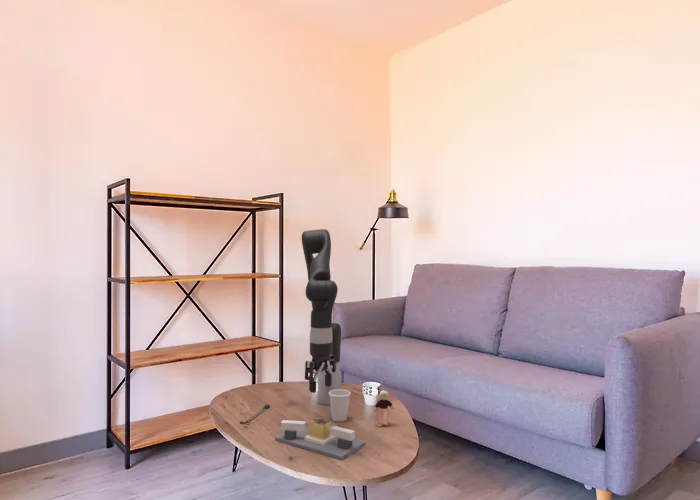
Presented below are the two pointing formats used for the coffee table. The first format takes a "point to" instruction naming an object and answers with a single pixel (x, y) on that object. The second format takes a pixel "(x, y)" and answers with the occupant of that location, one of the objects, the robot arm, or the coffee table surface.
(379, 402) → the grandmother figurine
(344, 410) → the dixie cup
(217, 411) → the coffee table surface
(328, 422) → the yellow plus-sign block
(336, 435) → the lever control panel
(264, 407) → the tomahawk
